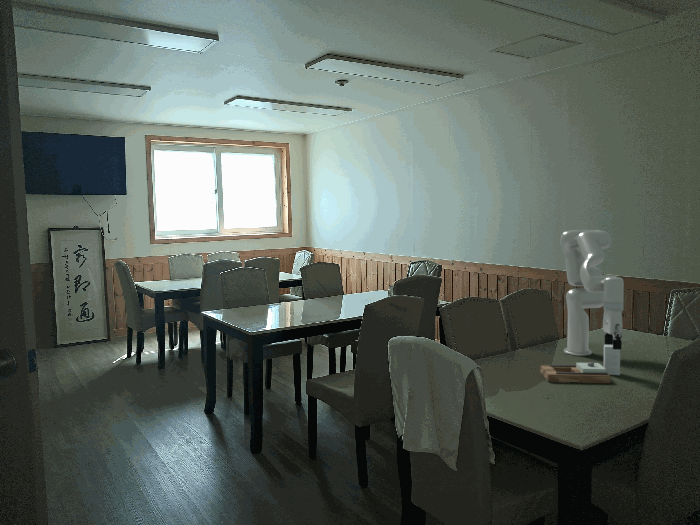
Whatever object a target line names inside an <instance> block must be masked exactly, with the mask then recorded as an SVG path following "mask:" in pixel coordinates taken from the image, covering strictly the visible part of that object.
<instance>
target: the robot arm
mask: <svg viewBox="0 0 700 525" xmlns="http://www.w3.org/2000/svg"><path fill="white" fill-rule="evenodd" d="M559 244H560V248H561V251H562V254H563V256H564V261H565V270H566V278H567V283H568V284H569V285H570V286H573V287H581V288H571V289H569V290H567V292H566V294H565V302H566V307H567V309H566V310H567V338H566V339H567V344H566V347H565V348H564V349H563V352H564V353H565V354H567V355H569V356H570V355H571V356H577V357H580V356H581V357H584V356H585V357H586V356H591V355H592V353H593V352H592V350H591V349H589V335H590V332H589V330H590V329H589V328H590V318H589V315H588V313H587V311H585V309H598V308H599V309H600V308H603V315H602V331H604V345H613V349H620V350H622V344H623V343H622V341H623V338H622V337H623V312H624V294H625V293H624V288H625V287H624V286H625V285H624V279H623V278H622V277H619V276H616V275H613V274H612V275H611V274H603V273H602V270H601V269H600V268H599V267H597V266H599V265H601V263H603V262H604V260H605V257H606V256H605V253H604V250H606V249H609V248H610V247H611V244H612V238H611V235H610V234H609V233H608V232H607V231H606V230H600V229H599V230H598V229H575V230H574V229H572V230H567V231H564V232H563V233H562V234H561V236H560V240H559ZM577 248H579V249H577ZM579 250H580V251H579ZM582 287H583V288H582Z"/></svg>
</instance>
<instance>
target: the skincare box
mask: <svg viewBox="0 0 700 525" xmlns="http://www.w3.org/2000/svg"><path fill="white" fill-rule="evenodd" d="M603 367H604V368H605V369H606V373H608V374H609V375H610V376H621V349H613V344H603Z"/></svg>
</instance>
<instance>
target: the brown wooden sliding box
mask: <svg viewBox="0 0 700 525" xmlns="http://www.w3.org/2000/svg"><path fill="white" fill-rule="evenodd" d="M539 371H540V374H541V375H542V374H543V375H542V376H543V377H544V378H546V379H547V380H546V379H545V380H546V381H547V382H548V381H550V382H549V383H570V382H578V383H579V384H580V382H581V384H582V383H583V384H611V377H612V375H609V374H608V373H582V372H581V371H579V370H578V369H577V368H576V364H575V365H572V364H540V369H539Z"/></svg>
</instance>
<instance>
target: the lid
mask: <svg viewBox="0 0 700 525" xmlns="http://www.w3.org/2000/svg"><path fill="white" fill-rule="evenodd" d="M575 363H576V364H575V365H576V368H577V369H578V370H579V371H581V372H582V373H606V369H605V368H604V365H602V364H600V363H599V362H591V361H589V362H575Z"/></svg>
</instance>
